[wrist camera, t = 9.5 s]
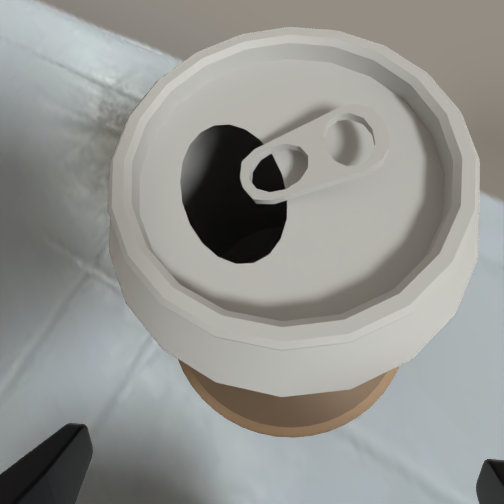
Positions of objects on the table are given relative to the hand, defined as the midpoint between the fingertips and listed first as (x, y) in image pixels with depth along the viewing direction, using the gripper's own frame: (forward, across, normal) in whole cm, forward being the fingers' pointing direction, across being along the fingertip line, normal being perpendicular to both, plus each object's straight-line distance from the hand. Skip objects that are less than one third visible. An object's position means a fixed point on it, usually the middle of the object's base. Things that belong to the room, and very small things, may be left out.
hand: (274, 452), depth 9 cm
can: (+9, 0, +2) cm, 9 cm away
